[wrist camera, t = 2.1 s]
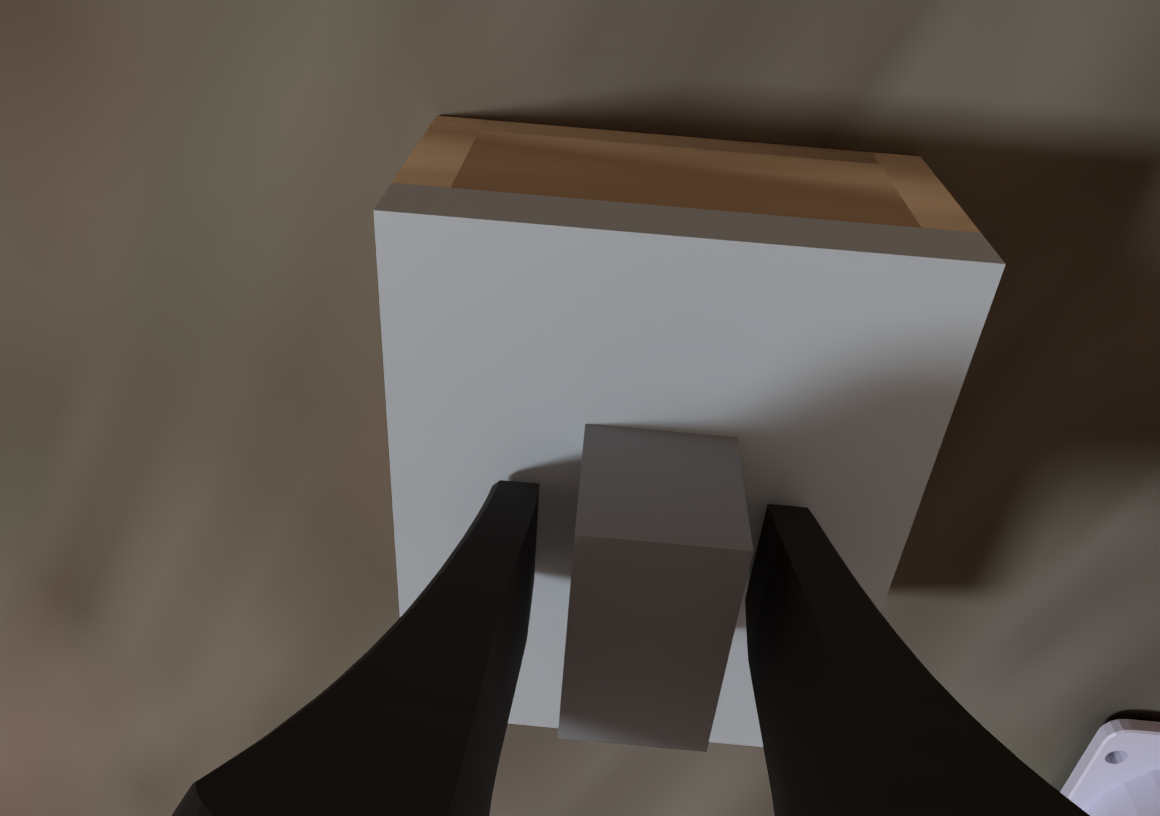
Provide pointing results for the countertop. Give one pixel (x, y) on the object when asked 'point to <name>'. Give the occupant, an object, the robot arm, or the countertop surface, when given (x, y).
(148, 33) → the countertop surface
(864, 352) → the lid
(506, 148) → the box
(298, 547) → the countertop surface
